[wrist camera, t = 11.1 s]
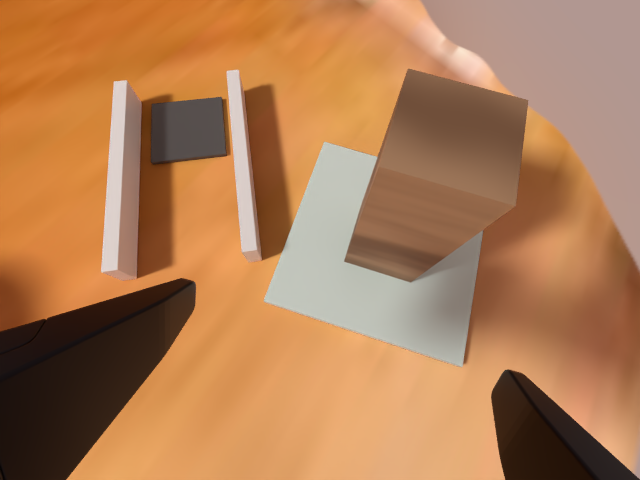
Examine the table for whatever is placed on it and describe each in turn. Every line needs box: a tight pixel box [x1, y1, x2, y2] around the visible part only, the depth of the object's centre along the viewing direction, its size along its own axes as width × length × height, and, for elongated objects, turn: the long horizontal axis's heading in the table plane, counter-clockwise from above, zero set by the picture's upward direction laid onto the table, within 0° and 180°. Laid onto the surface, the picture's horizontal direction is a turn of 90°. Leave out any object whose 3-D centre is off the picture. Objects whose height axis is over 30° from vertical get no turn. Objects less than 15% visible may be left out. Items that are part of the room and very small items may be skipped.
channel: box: [101, 70, 262, 281], centre depth 25 cm, size 16×10×2 cm, turn 9°
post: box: [344, 69, 528, 283], centre depth 18 cm, size 5×5×12 cm
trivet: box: [264, 142, 483, 367], centre depth 24 cm, size 14×14×1 cm
